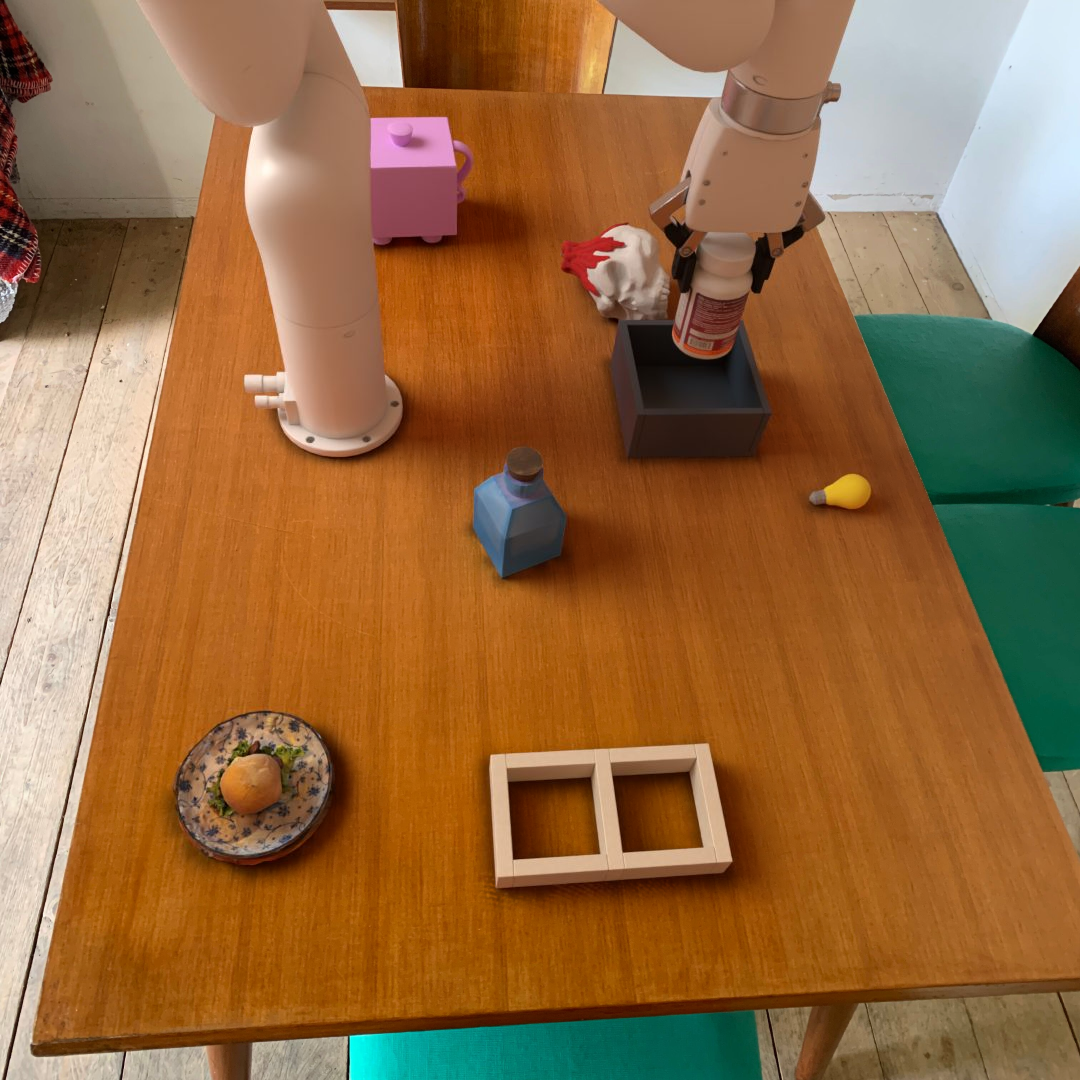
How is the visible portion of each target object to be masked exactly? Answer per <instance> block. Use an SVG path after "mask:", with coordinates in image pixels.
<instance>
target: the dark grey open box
mask: <svg viewBox="0 0 1080 1080" xmlns="http://www.w3.org/2000/svg"><path fill="white" fill-rule="evenodd" d="M674 322H675V319H666V320H620V319H618V323H617V327H616V333H615V339H614V343H613V349H612V353H611V359H610V363H609V367H610V370H611V371H610V372H611V377H612V384H613V389H614V395H615V399H616V404H617V405H616V406H617V410H618V416H619V422H620V427H621V432H622V438H623V443H624V449H625V454H626V458H627V459H652V458H653V459H662V458H663V459H665V458H667V459H668V458H669V459H670V458H727V457H728V458H729V457H730V458H731V457H732V458H734V457H736V458H737V457H755V456H756V453H757V450H758V448H759V446H760V444H761V441H762V438H763V436H764V433H765V432H766V429H767V427H768V424H769V421H770V419H771V417H772V414H773V412H772V409H771V405H770V402H769V399H768V396H767V393H766V390H765V387H764V382H763V380H762V377H761V374H760V369H759V368H758V364H757V360H756V358H755V355H754V354H755V353H754V351H753V347H752V346H751V341H750V338H749V335H748V331H747V329H746V325H745V322H744V320H743V319H741V321H740V324H739V328H738V331H737V334H736V337H735V341H734V343H733V346H732V348H731V350H730V351H729V352H728V353H727V354H725V355H724V356H722V357H719V358H716V359H699V358H695V357H691V356H689V355H687V354H685V353H684V352H682V351H681V350H680V349H679V348H678V347H677V346H676V344H675V343H674V340H673V337H672V331H673V326H674Z"/></svg>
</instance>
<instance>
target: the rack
mask: <svg viewBox="0 0 1080 1080" xmlns="http://www.w3.org/2000/svg"><path fill="white" fill-rule="evenodd" d="M711 752H712V751H711V748H710V743H708V742H707V743H695V744H694V743H690V744H673V745H672V744H671V745H651V746H632V747H631V746H630V747H617V748H615V747H614V748H594V749H572V750H554V751H553V750H552V751H534V752H517V753H516V752H515V753H495V754H490V757H489V768H488V769H489V770H488V771H489V788H490V801H491V802H490V804H491V821H492V822H491V823H492V824H491V825H492V840H493V842H492V843H493V855H494V856H493V857H494V859H493V860H494V877H495V888H496V889H505V888H506V889H507V888H519V887H520V888H521V887H535V886H550V885H564V884H566V885H567V884H577V883H578V884H579V883H595V882H607V881H619V880H620V881H623V880H637V879H651V878H666V877H667V878H668V877H679V876H680V877H682V876H696V875H710V874H711V875H712V874H723V873H724V872H725V871H726V870H727V869H728V868H729V867H730V865H731V864H733V857H732V852H731V846H730V842H729V836H728V832H727V828H726V821H725V817H724V813H723V812H724V811H723V807H722V803H721V802H722V801H721V798H720V792H719V788H718V787H719V786H718V782H717V778H716V777H717V776H716V773H715V767H714V762H713V758H712V753H711ZM688 772H689V778H690V782H691V788H692V795H693V798H694V804H695V810H696V816H697V820H698V821H697V822H698V825H699V831H700V837H701V842H702V847H692V848H676V849H662V850H646V851H645V850H644V851H631V852H629V851H628V852H623V846H622V844H623V843H622V837H621V831H620V830H621V829H620V823H619V816H618V809H617V808H618V807H617V801H616V800H617V799H616V793H615V786H614V779H613V777H616V776H635V775H637V776H638V775H650V774H651V775H653V774H672V773H673V774H674V773H688ZM581 778H584V779H585V778H590V781H591V790H592V796H593V805H594V813H595V814H594V815H595V821H596V822H595V823H596V829H597V830H596V831H597V837H598V846H599V854H585V855H569V856H567V855H566V856H553V857H552V856H551V857H539V858H536V857H535V858H523V859H522V858H521V859H514V854H513V839H512V838H513V837H512V826H511V825H512V822H511V811H510V795H509V783H510V782H528V781H545V780H547V781H548V780H564V779H581ZM589 878H590V879H589Z"/></svg>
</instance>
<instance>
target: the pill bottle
mask: <svg viewBox="0 0 1080 1080" xmlns="http://www.w3.org/2000/svg"><path fill="white" fill-rule="evenodd" d="M755 242H756V241H754V239H753V237H751V236H750V235H748V233H726V232H708V233H707V235H706V236H705V237H704V239H703V240H702V241H701V243H700V244H699V245H698V247H697V248H696V249H695V254H696V257H697V262H696V266H695V269H694V273H693V277H692V281H691V285H690V288H689V292H687V293H680V296H679V300H678V305H677V308H676V309H677V310H676V313H675V317H674V320H675V322H674V326H673V331H672V337H673V340H674V343H675V344H676V346H677V347H678V348H679V349H680V350H681V351H682V352H684V353H685V354H687V355H689V356H691V357H695V358H699V359H716V358H719V357H722V356H724V355H725V354H727V353H728V352H729V351H730V350H731V348H732V346H733V343H734V341H735V337H736V334H737V331H738V328H739V324H740V321H741V320H742V318H743V315H744V311H745V309H746V304H747V301H748V298H749V294H750V292H751V285H752V281H753V274H752V271H751V266H752V263H753V259H754V255H755V252H756V245H755Z"/></svg>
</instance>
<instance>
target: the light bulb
mask: <svg viewBox="0 0 1080 1080" xmlns="http://www.w3.org/2000/svg"><path fill="white" fill-rule="evenodd" d="M871 488H872V487H871V485H870V483H869V482H868V480H867V479H866V478H864V477H863V476H861V475H860V474H858V473H857V474H856V473H848V474H845V475H843V476H842V477H839V478H838V479H837V480H836V481H834V482H833V483H832V484H830V485H827V486H825V487H824V489H821V490H815V491H812V492H811V493H810V495H809V496H808V499H809V502H810V503H812V504H813V505H814V506H817V505H823V504H826V505H829V506H836V507H841V508H843V509H847V510H856V509H859V508H862V507H863V506H865V505H866V503H867V502H868V501H869V499H870V497H871V495H872V489H871Z"/></svg>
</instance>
